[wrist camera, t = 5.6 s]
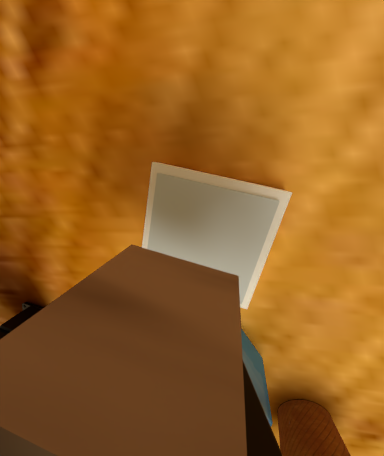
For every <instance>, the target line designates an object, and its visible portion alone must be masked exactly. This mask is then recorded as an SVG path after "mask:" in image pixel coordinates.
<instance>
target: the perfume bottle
mask: <svg viewBox="0 0 384 456" xmlns="http://www.w3.org/2000/svg"><path fill="white" fill-rule="evenodd" d="M241 338H242V359H243V362H244V364H245V366H246V369H247V371H248V374H249V376H250V378H251V381H252V383H253V386H254V388H255V390H256V393H257V395H258V398H259V400H260V402H261V405H262V407H263V410H264V412H265V414H266V417H267V419H268V422H269V424H270V426H272V417H271V411H270V404H269V398H268V391H267V385H266V379H265V372H264V366H263V360H262V357H261V356H260V354H259V353H258V351H257V350H256V349H255V347H254V346H253V344H252V343H251V342H250V340H249V339H248V337H247V336H246V334H245V333H244V332H243V330H242V329H241Z"/></svg>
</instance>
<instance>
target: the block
mask: <svg viewBox="0 0 384 456" xmlns="http://www.w3.org/2000/svg"><path fill="white" fill-rule="evenodd" d="M0 456H247V443H246V422H245V401H244V380H243V359H242V338H241V316H240V295H239V276H237V275H234V274H230V273H227V272H223V271H220V270H217V269H213V268H210V267H206V266H203V265H200V264H196V263H193V262H189V261H186V260H183V259H179V258H176V257H173V256H169V255H166V254H162V253H159V252H156V251H152V250H149V249H145V248H142V247H139V246H135V245H130V246H129V247H128V248H126V249H125V250H124V251H122V252H121V253H119V254H118V255H117V256H115V257H114V258H112V259H111V260H110V261H108V262H107V263H106V264H104V265H103V266H101V267H100V268H99V269H97V270H96V271H94V272H93V273H92V274H90V275H89V276H88V277H86V278H85V279H83V280H82V281H81V282H79V283H78V284H76V285H75V286H74V287H72V288H71V289H69V290H68V291H67V292H65V293H64V294H63V295H61V296H60V297H58V298H57V299H56V300H54V301H53V302H51V303H50V304H49V305H47V306H46V307H45V308H43V309H42V310H40V311H39V312H38V313H36V314H35V315H33V316H32V317H31V318H29V319H28V320H26V321H25V322H24V323H22V324H21V325H20V326H18V327H17V328H15V329H14V330H13V331H11V332H10V333H8V334H7V335H6V336H4V337H3V338H2V339H0Z"/></svg>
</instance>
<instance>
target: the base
mask: <svg viewBox="0 0 384 456" xmlns="http://www.w3.org/2000/svg"><path fill="white" fill-rule="evenodd" d="M291 195H292V192H289V191H286V190H282V189H278V188H273V187H269V186H264V185H259V184H255V183H250V182H246V181H241V180H237V179H232V178H228V177H223V176H218V175H214V174H209V173H205V172H200V171H196V170H191V169H187V168H182V167H178V166H173V165H168V164H164V163H158V162H152V166H151V175H150V183H149V192H148V200H147V208H146V217H145V225H144V234H143V242H142V248H145V249H149V250H152V251H156V252H159V253H162V254H166V255H169V256H173V257H176V258H179V259H183V260H186V261H189V262H193V263H196V264H200V265H203V266H206V267H210V268H213V269H217V270H220V271H223V272H227V273H230V274H234V275H237V276H239V295H240V307H241V308H244V309H247V308H248V306H249V303H250V300H251V298H252V295H253V293H254V290H255V288H256V285H257V282H258V280H259V277H260V275H261V272H262V269H263V267H264V264H265V262H266V259H267V257H268V254H269V251H270V249H271V246H272V244H273V241H274V238H275V236H276V233H277V231H278V228H279V226H280V223H281V220H282V218H283V215H284V213H285V210H286V207H287V205H288V202H289V200H290V197H291Z"/></svg>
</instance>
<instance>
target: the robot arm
mask: <svg viewBox="0 0 384 456" xmlns="http://www.w3.org/2000/svg"><path fill="white" fill-rule="evenodd" d="M22 308H23V311H22V312H20V313H19V314H17V315H16V316H14V317H13V318H11V319H10V320H8V321H7V322H5V323H4V324H2V325H1V326H0V339H2V338H3V337H4V336H6V335H7V334H8V333H10V332H11V331H13V330H14V329H15V328H17V327H18V326H20V325H21V324H22V323H24V322H25V321H26V320H28V319H29V318H31V317H32V316H33V315H35V314H36V313H38V312H39V311H40V310H42V309H43V308H42V307H39V306H36V305H34V304H31V303H28V302H25V303H23V304H22ZM243 380H244V401H245V422H246V443H247V456H283V455H282V453H281V450H280V448H279V446H278V443H277V441H276V438H275V436H274V434H273V431H272V429H271V426H270V424H269V422H268V419H267V417H266V414H265V412H264V410H263V407H262V405H261V402H260V400H259V398H258V395H257V393H256V390H255V388H254V386H253V383H252V381H251V378H250V376H249V374H248V371H247V369H246V366H245V364H244V362H243Z"/></svg>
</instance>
